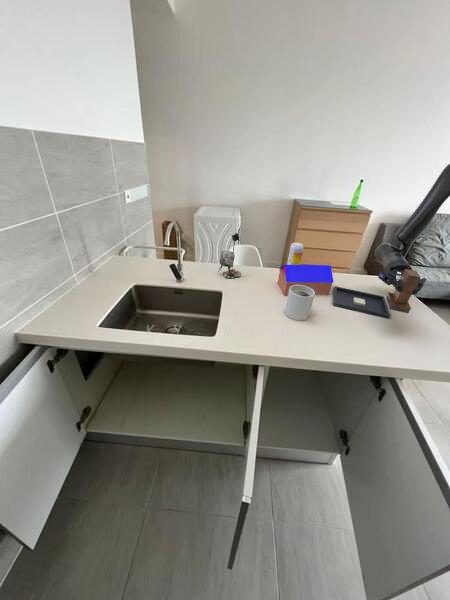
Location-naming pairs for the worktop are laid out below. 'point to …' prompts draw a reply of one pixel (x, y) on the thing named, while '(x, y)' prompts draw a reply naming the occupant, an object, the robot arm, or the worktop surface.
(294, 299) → the mug
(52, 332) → the worktop surface
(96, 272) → the worktop surface
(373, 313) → the tray
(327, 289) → the blue-topped block
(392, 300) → the brown post on base
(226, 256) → the bird figurine
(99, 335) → the worktop surface
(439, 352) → the worktop surface
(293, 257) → the white capped yellow bottle
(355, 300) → the paper scrap
